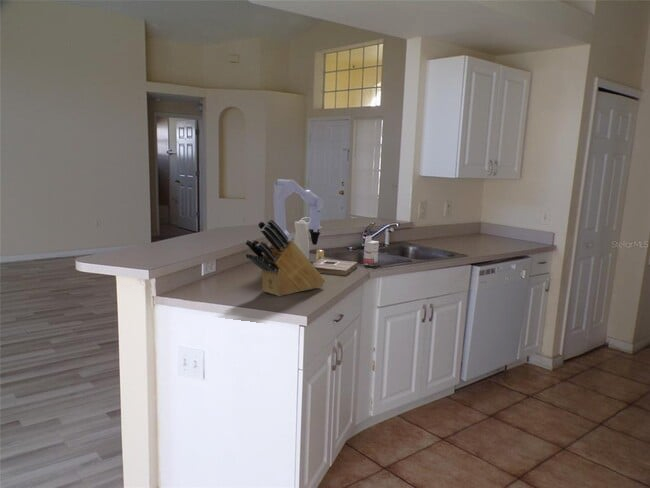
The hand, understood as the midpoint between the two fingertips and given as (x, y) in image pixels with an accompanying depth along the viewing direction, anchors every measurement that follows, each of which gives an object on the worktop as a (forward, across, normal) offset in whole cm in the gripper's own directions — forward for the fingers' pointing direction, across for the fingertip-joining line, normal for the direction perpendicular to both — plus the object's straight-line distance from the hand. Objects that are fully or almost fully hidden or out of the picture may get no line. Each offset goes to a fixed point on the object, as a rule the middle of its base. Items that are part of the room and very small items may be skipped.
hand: (314, 243), depth 272 cm
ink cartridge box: (+10, -4, -31) cm, 33 cm away
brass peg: (+9, -3, -3) cm, 10 cm away
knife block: (+10, -68, +16) cm, 70 cm away
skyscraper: (+10, -40, +9) cm, 43 cm away
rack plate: (+9, -23, -8) cm, 26 cm away
